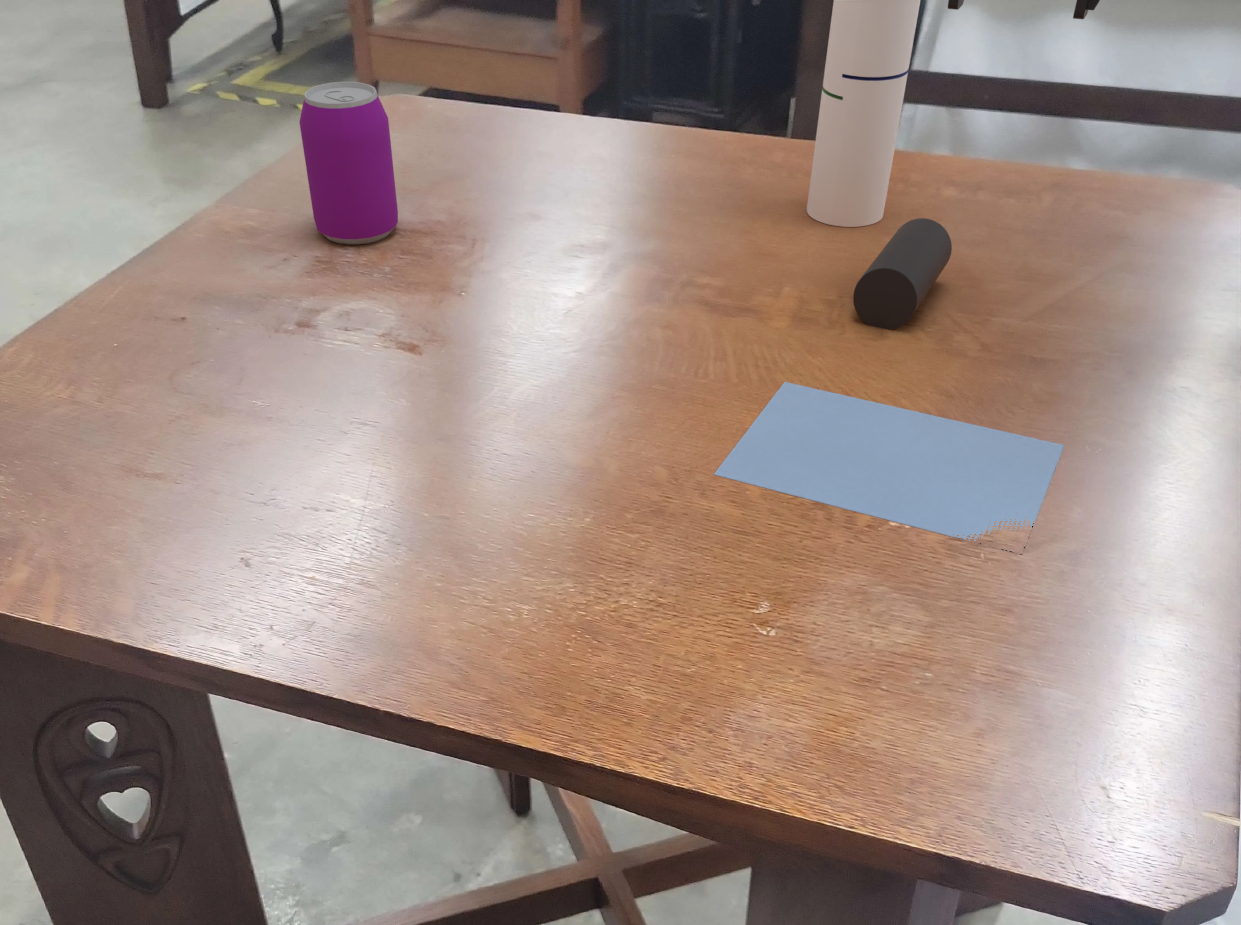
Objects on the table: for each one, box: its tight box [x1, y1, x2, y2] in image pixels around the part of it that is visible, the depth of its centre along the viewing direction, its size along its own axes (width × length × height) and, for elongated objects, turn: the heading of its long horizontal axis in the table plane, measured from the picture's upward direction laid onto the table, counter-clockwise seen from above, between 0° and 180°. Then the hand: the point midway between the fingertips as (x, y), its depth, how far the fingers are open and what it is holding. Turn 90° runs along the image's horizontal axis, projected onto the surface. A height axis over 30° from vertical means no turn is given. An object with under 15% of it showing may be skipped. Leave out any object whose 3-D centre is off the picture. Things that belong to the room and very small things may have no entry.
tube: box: [852, 217, 953, 331], centre depth 96 cm, size 11×5×5 cm, turn 153°
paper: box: [713, 381, 1065, 542], centre depth 80 cm, size 20×14×1 cm
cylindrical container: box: [806, 0, 921, 228], centre depth 103 cm, size 7×7×25 cm
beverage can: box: [299, 81, 399, 245], centre depth 106 cm, size 8×8×12 cm
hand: (1016, 11), depth 83 cm, fingers open, 8 cm apart
